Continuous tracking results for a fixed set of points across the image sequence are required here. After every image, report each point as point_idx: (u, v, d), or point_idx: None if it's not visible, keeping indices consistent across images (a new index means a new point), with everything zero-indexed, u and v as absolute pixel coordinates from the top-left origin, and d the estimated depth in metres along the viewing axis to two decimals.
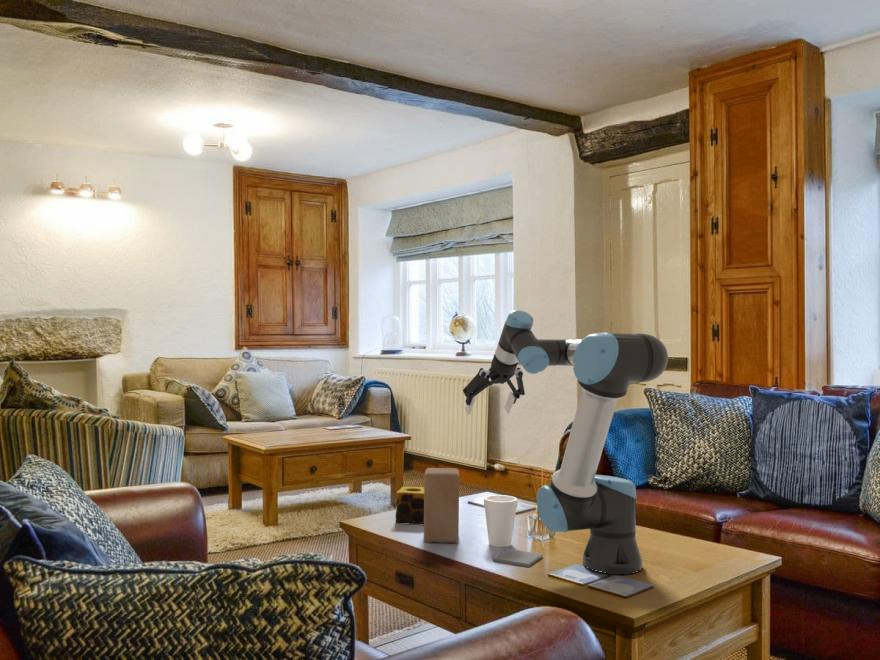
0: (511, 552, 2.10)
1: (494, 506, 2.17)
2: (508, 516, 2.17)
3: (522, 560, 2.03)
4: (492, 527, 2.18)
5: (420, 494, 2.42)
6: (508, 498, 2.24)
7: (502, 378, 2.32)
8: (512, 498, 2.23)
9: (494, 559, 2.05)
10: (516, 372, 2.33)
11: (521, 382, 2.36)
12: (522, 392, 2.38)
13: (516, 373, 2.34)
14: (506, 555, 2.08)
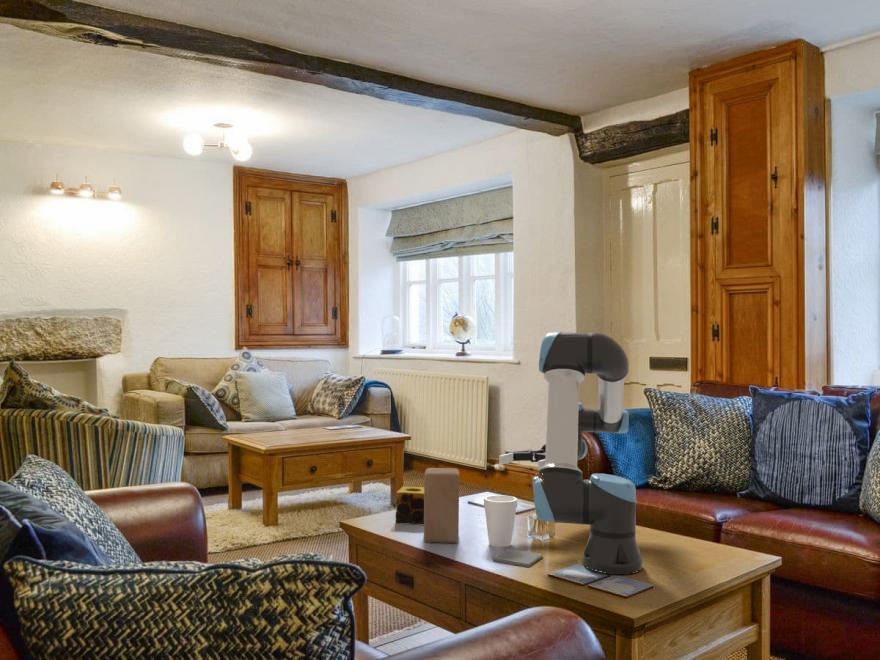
0: (511, 552, 2.10)
1: (494, 506, 2.17)
2: (508, 516, 2.17)
3: (522, 560, 2.03)
4: (492, 527, 2.18)
5: (420, 494, 2.42)
6: (508, 498, 2.24)
7: (545, 453, 2.39)
8: (512, 498, 2.23)
9: (494, 559, 2.05)
10: None
11: None
12: None
13: None
14: (506, 555, 2.08)
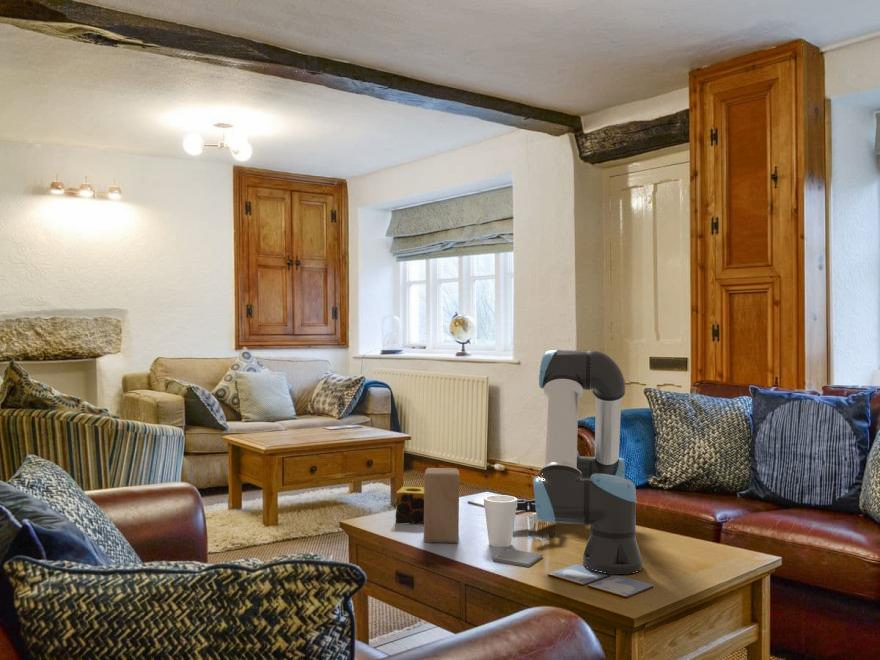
0: (511, 552, 2.10)
1: (494, 506, 2.17)
2: (508, 516, 2.17)
3: (522, 560, 2.03)
4: (492, 527, 2.18)
5: (420, 494, 2.42)
6: (508, 498, 2.24)
7: None
8: (512, 498, 2.23)
9: (494, 559, 2.05)
10: None
11: None
12: None
13: None
14: (506, 555, 2.08)
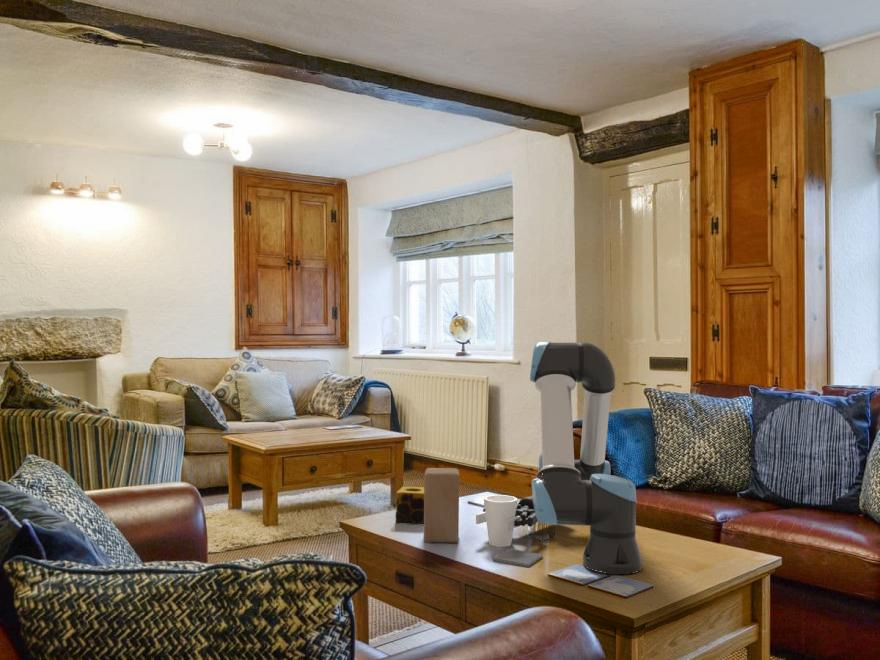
0: (511, 552, 2.10)
1: (494, 506, 2.17)
2: (508, 516, 2.17)
3: (522, 560, 2.03)
4: (492, 527, 2.18)
5: (420, 494, 2.42)
6: (508, 498, 2.24)
7: (522, 509, 2.29)
8: (512, 498, 2.23)
9: (494, 559, 2.05)
10: None
11: (535, 513, 2.24)
12: (530, 516, 2.20)
13: None
14: (506, 555, 2.08)
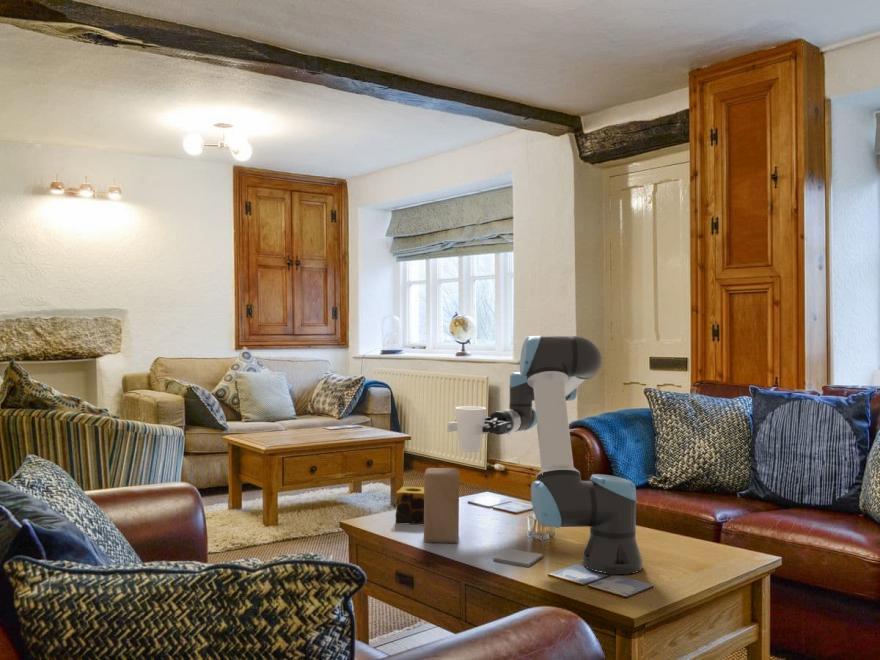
0: (511, 552, 2.10)
1: (464, 413, 2.31)
2: (477, 423, 2.32)
3: (522, 560, 2.03)
4: (462, 433, 2.33)
5: (420, 494, 2.42)
6: (478, 408, 2.39)
7: (492, 420, 2.44)
8: (482, 408, 2.37)
9: (494, 559, 2.05)
10: None
11: (504, 423, 2.38)
12: (498, 424, 2.34)
13: None
14: (506, 555, 2.08)
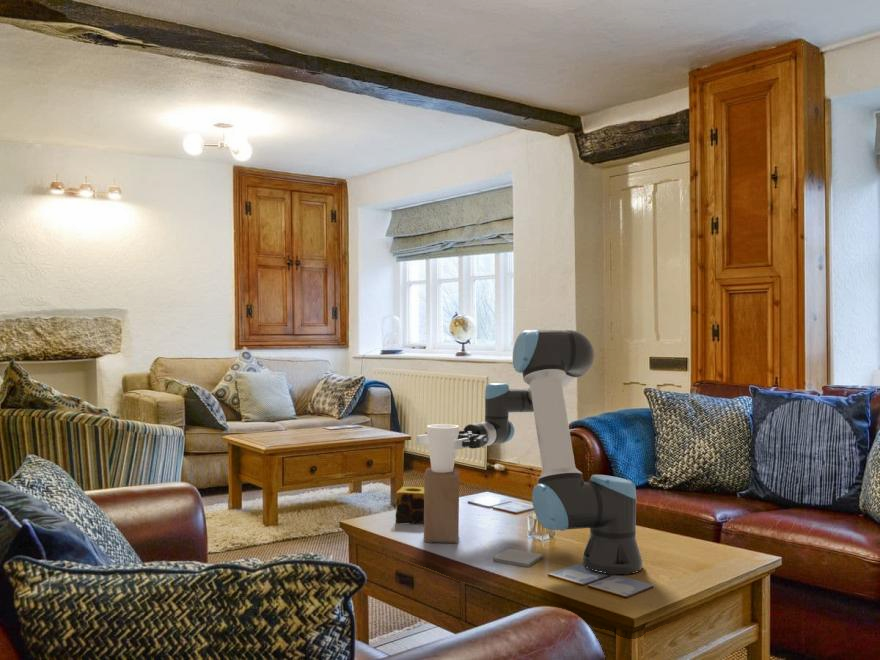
0: (511, 552, 2.10)
1: (435, 432, 2.22)
2: (449, 442, 2.22)
3: (522, 560, 2.03)
4: (434, 453, 2.23)
5: (420, 494, 2.42)
6: (451, 426, 2.29)
7: (465, 434, 2.34)
8: (454, 426, 2.28)
9: (494, 559, 2.05)
10: None
11: (481, 436, 2.28)
12: None
13: None
14: (506, 555, 2.08)
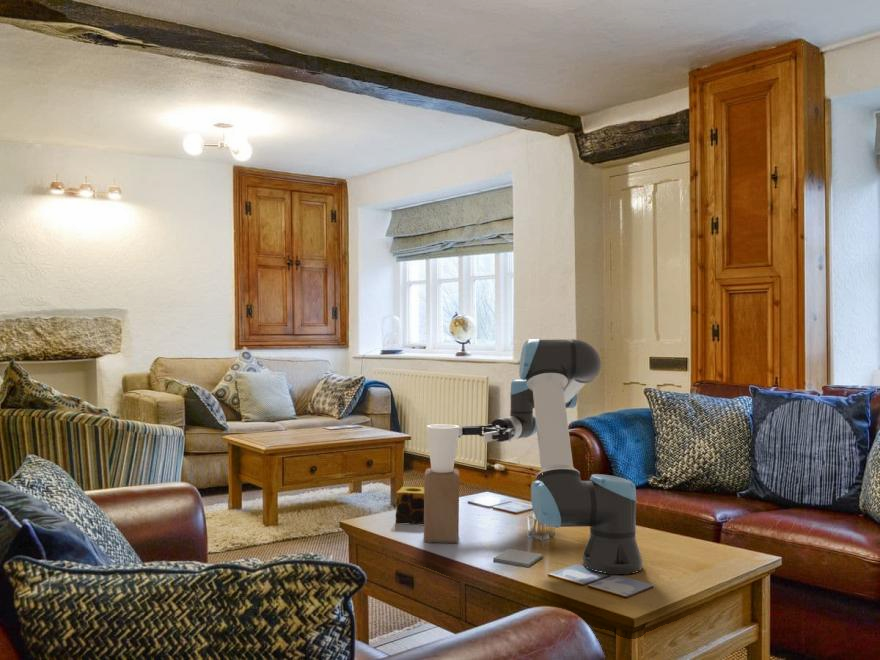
0: (511, 552, 2.10)
1: (435, 432, 2.22)
2: (449, 442, 2.22)
3: (522, 560, 2.03)
4: (434, 453, 2.23)
5: (420, 494, 2.42)
6: (451, 426, 2.29)
7: (493, 427, 2.45)
8: (454, 426, 2.28)
9: (494, 559, 2.05)
10: None
11: (509, 430, 2.39)
12: (506, 431, 2.35)
13: None
14: (506, 555, 2.08)
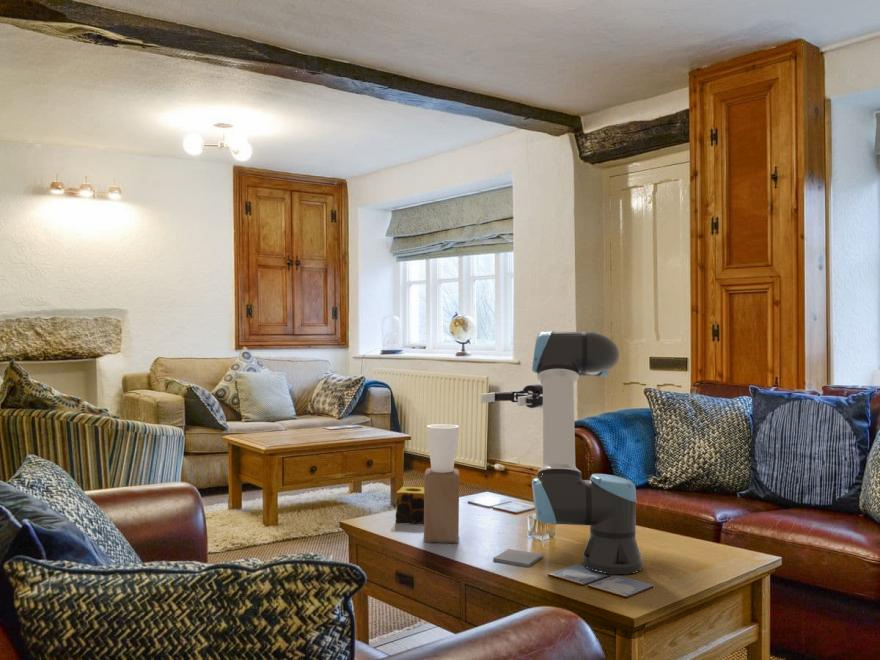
0: (511, 552, 2.10)
1: (435, 432, 2.22)
2: (449, 442, 2.22)
3: (522, 560, 2.03)
4: (434, 453, 2.23)
5: (420, 494, 2.42)
6: (451, 426, 2.29)
7: (526, 393, 2.45)
8: (454, 426, 2.28)
9: (494, 559, 2.05)
10: None
11: (542, 395, 2.40)
12: (540, 396, 2.35)
13: None
14: (506, 555, 2.08)
